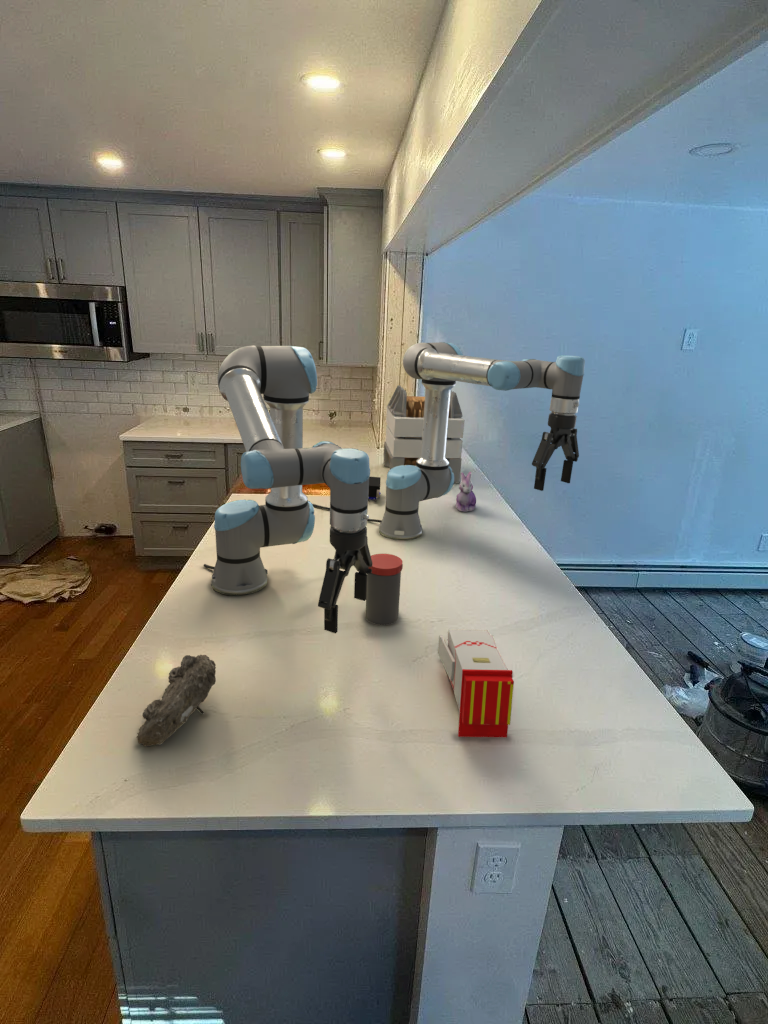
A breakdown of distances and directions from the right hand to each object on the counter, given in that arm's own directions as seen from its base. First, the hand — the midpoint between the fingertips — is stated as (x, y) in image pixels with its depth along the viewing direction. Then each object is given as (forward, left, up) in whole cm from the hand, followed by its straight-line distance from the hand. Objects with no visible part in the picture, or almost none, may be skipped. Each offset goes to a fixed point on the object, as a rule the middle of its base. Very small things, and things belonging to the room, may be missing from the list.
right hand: (552, 485), depth 166 cm
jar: (-9, -56, -28) cm, 64 cm away
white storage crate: (-101, +46, -28) cm, 115 cm away
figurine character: (-84, +3, -28) cm, 89 cm away
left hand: (+1, -76, -16) cm, 77 cm away
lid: (-9, -56, -13) cm, 59 cm away
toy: (+26, -62, -28) cm, 72 cm away
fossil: (-4, -110, -28) cm, 114 cm away
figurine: (-53, +26, -28) cm, 65 cm away
